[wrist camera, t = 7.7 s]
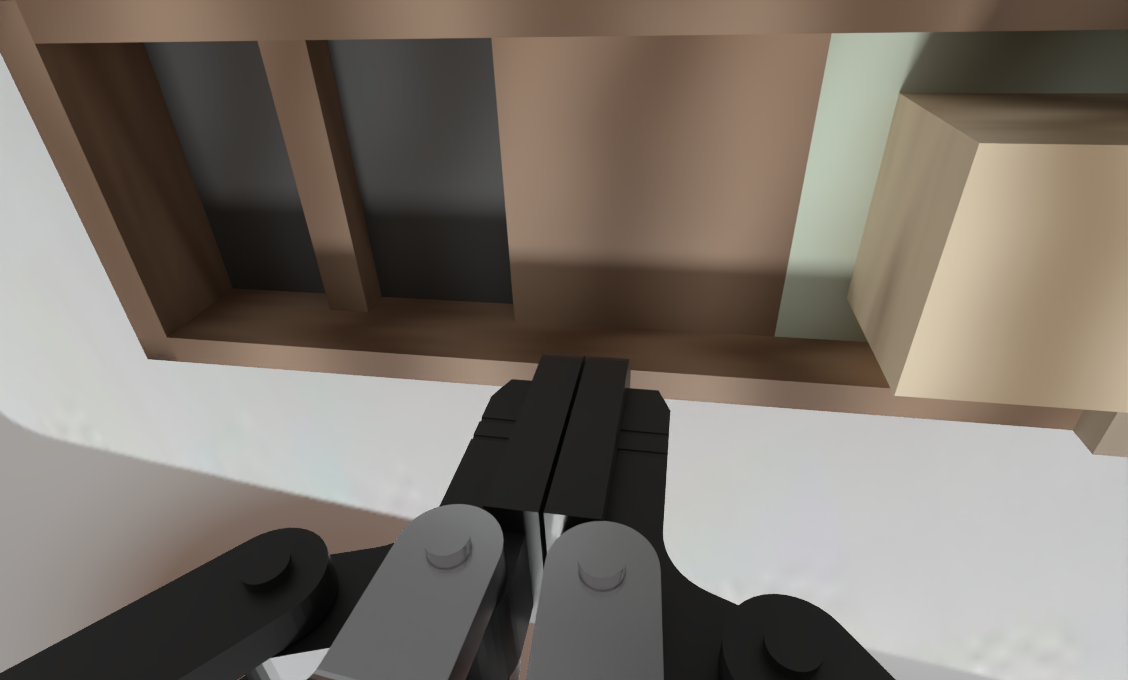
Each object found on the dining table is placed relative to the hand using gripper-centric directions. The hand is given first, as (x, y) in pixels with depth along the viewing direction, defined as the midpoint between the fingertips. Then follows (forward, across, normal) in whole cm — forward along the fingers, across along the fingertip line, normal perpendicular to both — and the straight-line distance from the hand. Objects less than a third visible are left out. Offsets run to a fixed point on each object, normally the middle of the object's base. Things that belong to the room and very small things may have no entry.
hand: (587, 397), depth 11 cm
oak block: (+10, -10, 0) cm, 14 cm away
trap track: (+11, +2, -1) cm, 11 cm away
